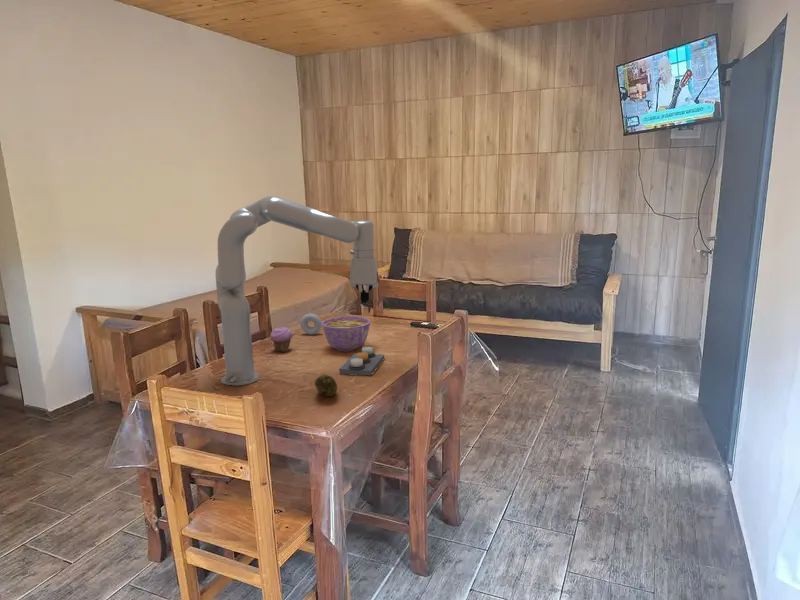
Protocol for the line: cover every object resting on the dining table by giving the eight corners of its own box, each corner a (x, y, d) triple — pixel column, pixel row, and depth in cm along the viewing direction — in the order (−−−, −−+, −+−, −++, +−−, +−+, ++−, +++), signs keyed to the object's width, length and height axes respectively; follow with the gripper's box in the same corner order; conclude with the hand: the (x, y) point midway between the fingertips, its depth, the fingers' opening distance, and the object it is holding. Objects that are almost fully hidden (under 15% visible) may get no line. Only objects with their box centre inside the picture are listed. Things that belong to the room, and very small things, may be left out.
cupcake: (267, 353, 231) (266, 329, 229) (277, 347, 239) (275, 324, 237) (287, 354, 229) (286, 330, 227) (296, 348, 237) (295, 325, 235)
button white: (360, 367, 202) (360, 362, 201) (349, 366, 203) (349, 361, 202) (364, 363, 206) (364, 358, 206) (352, 362, 207) (352, 357, 207)
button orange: (366, 361, 209) (366, 356, 208) (355, 360, 210) (354, 355, 209) (369, 357, 213) (369, 352, 212) (358, 356, 214) (358, 351, 213)
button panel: (370, 376, 201) (370, 369, 200) (338, 374, 204) (338, 367, 203) (384, 359, 220) (384, 352, 219) (355, 357, 223) (355, 351, 222)
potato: (344, 389, 190) (343, 366, 188) (334, 404, 177) (333, 380, 176) (320, 388, 191) (319, 365, 189) (308, 403, 178) (307, 379, 177)
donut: (299, 335, 256) (298, 314, 254) (301, 333, 259) (300, 312, 257) (321, 335, 255) (320, 314, 253) (323, 333, 258) (322, 312, 256)
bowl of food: (377, 352, 229) (377, 324, 227) (330, 358, 222) (328, 330, 220) (362, 339, 247) (361, 314, 245) (318, 345, 240) (316, 319, 238)
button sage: (371, 355, 215) (371, 350, 215) (360, 354, 216) (360, 349, 216) (374, 351, 219) (374, 347, 219) (363, 351, 220) (363, 346, 220)
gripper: (341, 254, 208) (343, 303, 211) (380, 255, 204) (381, 305, 208) (347, 252, 215) (349, 299, 219) (385, 253, 211) (386, 300, 215)
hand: (364, 302), depth 213 cm, fingers closed
